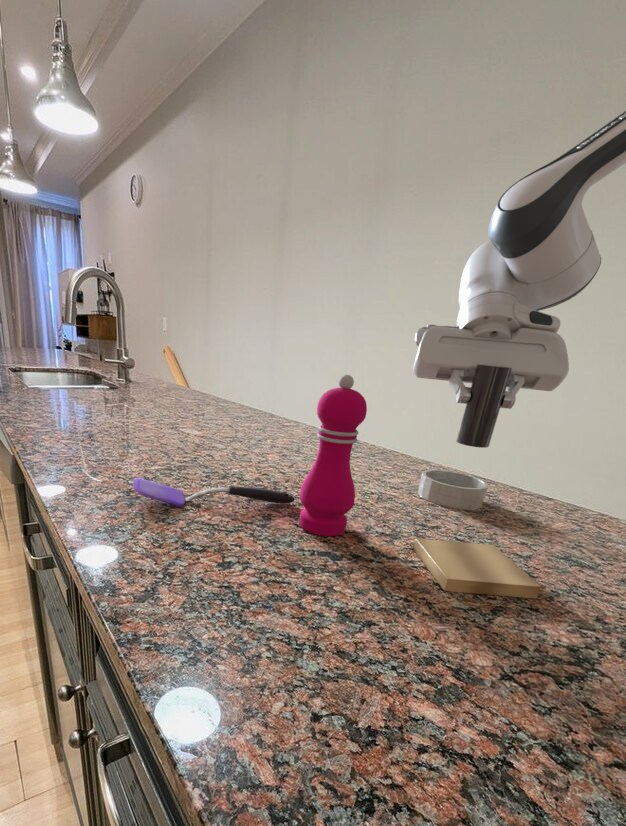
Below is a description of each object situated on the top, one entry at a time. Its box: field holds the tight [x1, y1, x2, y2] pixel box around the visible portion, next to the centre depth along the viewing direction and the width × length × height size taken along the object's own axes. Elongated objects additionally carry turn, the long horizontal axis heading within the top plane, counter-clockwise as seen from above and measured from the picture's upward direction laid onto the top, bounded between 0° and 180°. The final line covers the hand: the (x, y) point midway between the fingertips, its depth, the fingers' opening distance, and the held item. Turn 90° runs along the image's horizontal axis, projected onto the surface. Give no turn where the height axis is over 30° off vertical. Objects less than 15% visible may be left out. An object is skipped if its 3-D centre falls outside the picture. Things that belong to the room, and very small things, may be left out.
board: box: [412, 538, 542, 600], centre depth 52 cm, size 10×10×2 cm
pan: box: [417, 469, 489, 510], centre depth 75 cm, size 10×10×4 cm
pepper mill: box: [298, 374, 368, 537], centre depth 57 cm, size 7×7×20 cm
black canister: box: [456, 364, 512, 449], centre depth 64 cm, size 4×4×11 cm
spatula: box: [132, 477, 295, 508], centre depth 66 cm, size 24×7×2 cm, turn 98°
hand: (485, 403), depth 63 cm, fingers closed on black canister, 4 cm apart
